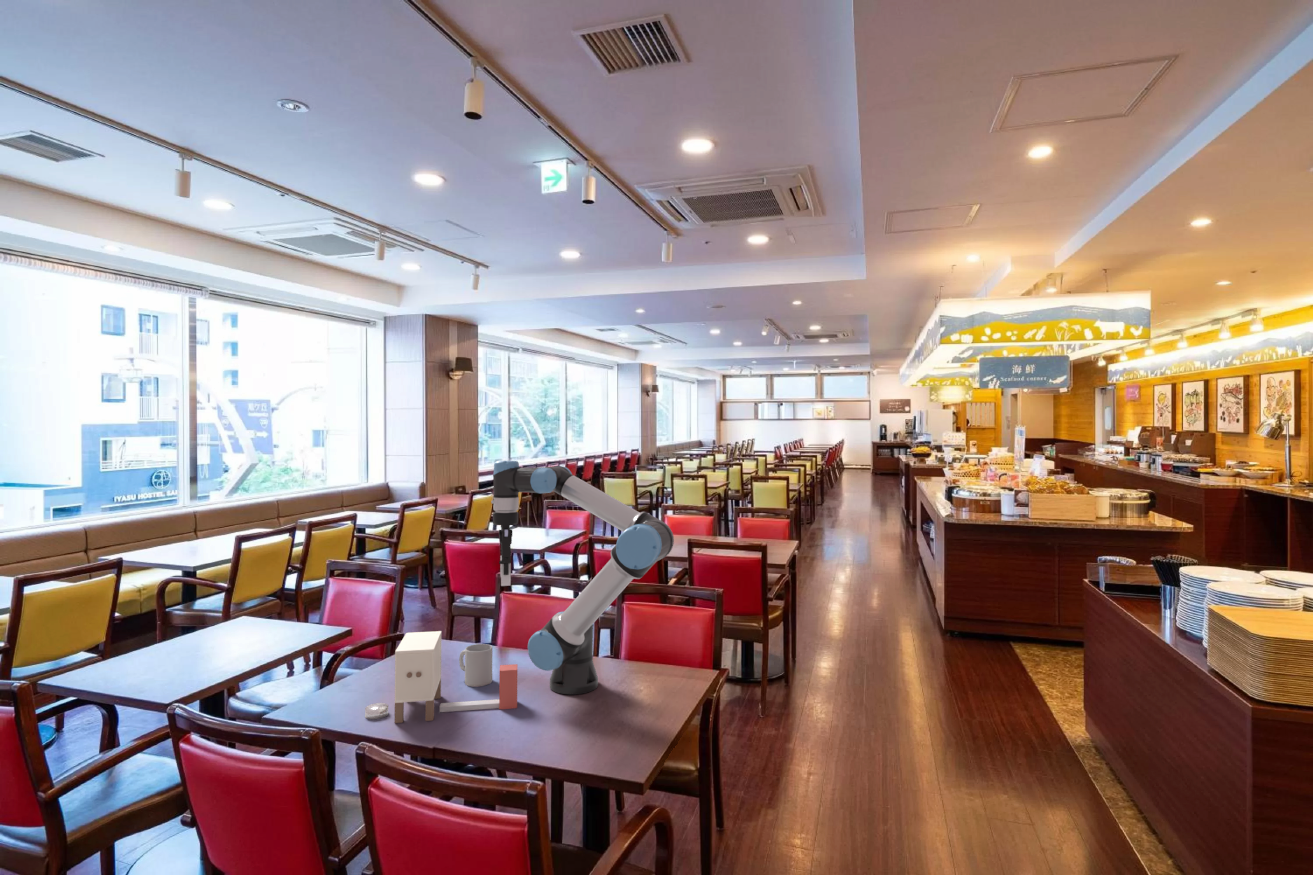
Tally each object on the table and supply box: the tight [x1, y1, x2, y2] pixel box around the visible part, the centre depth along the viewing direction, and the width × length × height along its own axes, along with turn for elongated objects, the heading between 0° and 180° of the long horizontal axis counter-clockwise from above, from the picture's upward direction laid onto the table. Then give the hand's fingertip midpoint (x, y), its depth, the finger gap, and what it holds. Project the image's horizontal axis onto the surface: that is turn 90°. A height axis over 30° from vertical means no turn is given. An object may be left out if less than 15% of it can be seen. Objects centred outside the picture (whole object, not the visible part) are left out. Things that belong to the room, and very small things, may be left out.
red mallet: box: [439, 663, 519, 713], centre depth 192 cm, size 22×5×11 cm, turn 101°
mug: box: [458, 643, 493, 688], centre depth 213 cm, size 12×8×11 cm
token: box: [364, 702, 389, 720], centre depth 186 cm, size 6×6×2 cm
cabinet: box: [394, 630, 442, 724], centre depth 190 cm, size 10×19×20 cm, turn 11°
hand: (505, 580), depth 203 cm, fingers open, 13 cm apart
